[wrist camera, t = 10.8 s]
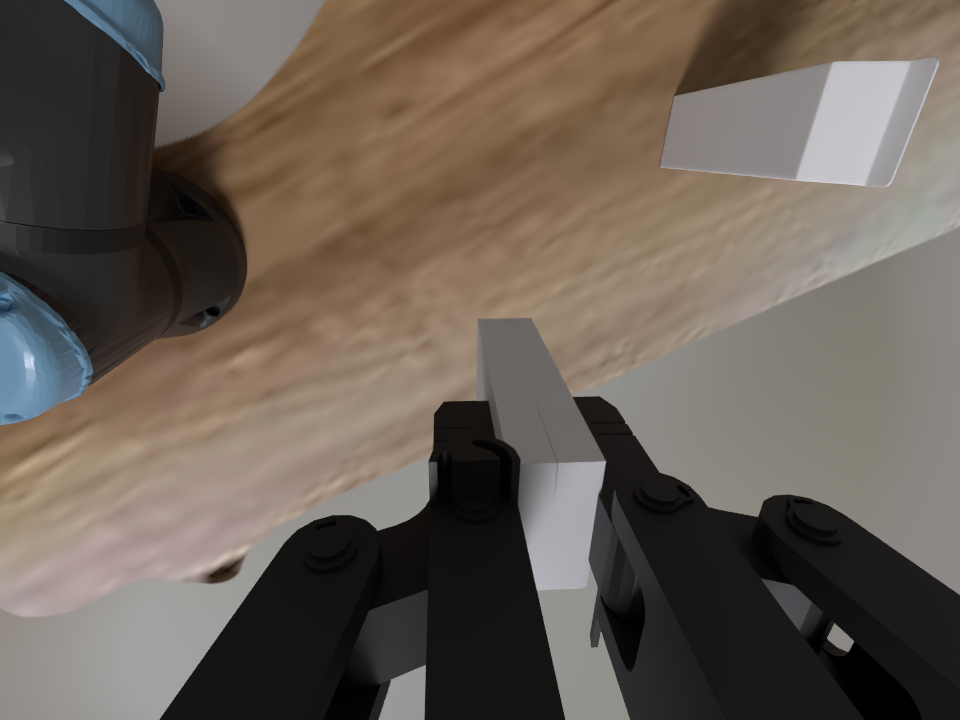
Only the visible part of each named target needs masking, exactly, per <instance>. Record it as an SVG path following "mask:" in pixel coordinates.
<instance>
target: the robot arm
mask: <svg viewBox="0 0 960 720" xmlns="http://www.w3.org/2000/svg"><path fill="white" fill-rule="evenodd" d="M162 48H163V22H162V17H161V14H160V11H159V10H158V8H157V6H156V4H155V2H154V0H0V425H5V424H11V423H17V422H21V421H24V420H27V419H31V418H33V417H36V416H38V415H40V414H42V413H44V412H45V411H47V410H49V409H51V408H52V407H54V406H56V405H58V404H59V403H61V402H64V401H67V400H69V399H73V398H75V397H77V396H79V395H80V394H82V393H83V392H84V391H85V390H86V388H87V387H88V386H90V385H91V384H92V383H94V382H95V381H97V380H98V379H99V378H101V377H102V376H104V375H105V374H107V373H108V372H109V371H111V370H112V369H114V368H115V367H117V366H118V365H119V364H121V363H122V362H124V361H125V360H126V359H128V358H129V357H131V356H132V355H134V354H135V353H136V352H138V351H139V350H141V349H142V348H143V347H145V346H146V345H148V344H149V343H151V342H152V341H154V340H155V339H161V338H169V337H177V336H184V335H189V334H193V333H196V332H198V331H201V330H203V329H205V328H207V327H209V326H211V325H212V324H214V323H215V322H217V321H218V320H219V319H221V318H222V317H223V316H224V315H226V314H227V313H228V312H229V311H230V310H231V309H232V308H233V306H234V305H235V304H236V302H237V301H238V299H239V297H240V295H241V293H242V290H243V288H244V284H245V279H246V258H245V252H244V248H243V245H242V242H241V239H240V236H239V234H238V232H237V230H236V228H235V226H234V224H233V223H232V221H231V220H230V218H229V217H228V215H227V214H226V213H225V211H224V210H223V209H222V208H221V207H220V206H219V205H218V204H217V202H216V201H214V200H213V199H212V198H211V197H210V196H209V195H208V194H207V193H205V192H204V191H203V190H201V189H200V188H199V187H197V186H196V185H194V184H192V183H191V182H189V181H187V180H185V179H183V178H181V177H179V176H176V175H174V174H171V173H168V172H165V171H161V170H157V169H152V162H153V152H154V142H155V131H156V121H157V110H158V101H159V92H163V91H164V89H165V82H164V78H163V76H162V74H161V69H162ZM429 489H430V500H429V502H428V503H427V505H426V507H425V508H424V509H423V510H422V511H421V512H420V513H419V514H417V515H416V516H414V517H413V518H411V519H410V520H408V521H406V522H403V523H401V524H398V525H396V526H393V527H389V528H386V529H382V530H379V531H377V530H376V528H374V527H373V526H372V525H371V524H370V523H369V522H368V521H366V520H364V519H361V518H358V517H355V516H351V515H336V516H335V515H332V516H329V517H325V518H322V519H318V520H314V521H313V522H311V523H309V524H307V525H305V526H304V527H302V528H300V529H298V530H297V531H296V532H295V533H294V534H293V535H292V536H291V537H290V538H289V539H288V540H287V541H286V542H285V543H284V544H283V546H282V547H281V549H280V550H279V552H278V553H277V554H276V556H275V557H274V559H273V560H272V561H271V563H270V564H269V566H268V567H267V568H266V570H265V571H264V573H263V574H262V576H261V577H260V578H259V580H258V581H257V583H256V584H255V585H254V587H253V588H252V590H251V591H250V592H249V594H248V595H247V597H246V598H245V600H244V601H243V603H242V604H241V605H240V607H239V608H238V609H237V611H236V612H235V614H234V615H233V616H232V618H231V619H230V621H229V622H228V624H227V625H226V626H225V628H224V629H223V631H222V632H221V633H220V635H219V636H218V638H217V639H216V640H215V642H214V643H213V645H212V646H211V647H210V649H209V650H208V652H207V653H206V655H205V656H204V657H203V659H202V660H201V662H200V663H199V664H198V666H197V667H196V669H195V670H194V672H193V673H192V675H191V676H190V677H189V679H188V680H187V681H186V683H185V684H184V686H183V687H182V688H181V690H180V691H179V693H178V694H177V695H176V697H175V698H174V700H173V701H172V703H171V704H170V705H169V707H168V708H167V710H166V711H165V712H164V714H163V715H162V717H161V718H160V720H378V719H379V716H380V713H381V710H382V707H383V704H384V700H385V698H386V694H387V692H388V688H389V685H390V682H391V679H393V678H395V677H398V676H400V675H403V674H405V673H407V672H410V671H412V670H414V669H416V668H419V667H421V666H424V665H426V687H425V689H426V691H425V720H565V716H564V712H563V707H562V703H561V698H560V694H559V690H558V685H557V680H556V676H555V671H554V666H553V662H552V657H551V653H550V648H549V643H548V639H547V634H546V630H545V625H544V621H543V616H542V612H541V607H540V603H539V598H538V593H537V590H555V589H574V588H586V587H587V580H588V574H589V568H590V566H591V569H592V572H593V575H594V577H595V580H596V583H597V586H598V591H597V596H596V602H595V608H594V615H593V620H592V626H591V632H590V639H591V647H598V642H599V637H600V632H602V634H603V638H604V641H605V644H606V647H607V650H608V653H609V656H610V659H611V662H612V665H613V668H614V671H615V674H616V678H617V681H618V684H619V686H620V690H621V693H622V696H623V699H624V702H625V705H626V708H627V711H628V714H629V717H630V720H960V595H959V594H957V593H956V592H954V591H953V590H952V589H950V588H948V587H947V586H946V585H944V584H943V583H942V582H940V581H939V580H937V579H936V578H934V577H933V576H931V575H930V574H929V573H927V572H926V571H924V570H923V569H922V568H920V567H919V566H917V565H916V564H914V563H913V562H911V561H910V560H909V559H907V558H906V557H904V556H903V555H901V554H900V553H898V552H897V551H896V550H894V549H893V548H891V547H890V546H889V545H887V544H885V543H884V542H883V541H881V540H880V539H879V538H877V537H876V536H874V535H873V534H871V533H870V532H868V531H867V530H866V529H864V528H863V527H861V526H860V525H858V524H857V523H856V522H854V521H853V520H851V519H850V518H848V517H847V516H845V515H844V514H842V513H840V512H838V511H837V510H835V509H833V508H831V507H830V506H828V505H825V504H823V503H820V502H817V501H814V500H812V499H809V498H805V497H800V496H794V495H776V496H772V497H770V498H768V499H767V500H765V501H764V502H763V505H762V508H761V511H760V514H759V516H758V517H754V516H749V515H744V514H738V513H733V512H727V511H722V510H717V509H714V508H709V507H707V505H706V504H705V502H704V501H703V500H702V498H701V497H700V496H699V495H698V494H697V493H696V492H695V491H694V490H693V489H692V488H691V487H690V486H689V485H687V484H685V483H683V482H681V481H680V480H678V479H676V478H674V477H672V476H668V475H665V474H662V473H659V471H658V470H657V468H656V467H655V465H654V464H653V462H652V461H651V459H650V458H649V456H648V455H647V453H646V452H645V450H644V449H643V447H642V446H641V444H640V443H639V441H638V440H637V438H636V437H635V436H633V433H632V431H631V429H630V428H629V426H628V425H627V424H625V420H624V419H623V417H622V416H621V414H620V413H619V411H618V410H617V408H616V407H614V406H613V405H611V404H610V403H608V402H607V401H605V400H604V399H602V398H601V397H599V396H598V397H572V395H571V394H570V392H569V390H568V388H567V386H566V384H565V382H564V380H563V378H562V376H561V374H560V373H559V371H558V369H557V367H556V365H555V363H554V361H553V359H552V357H551V355H550V353H549V352H548V350H547V348H546V346H545V344H544V342H543V340H542V338H541V336H540V334H539V332H538V331H537V329H536V327H535V325H534V323H533V321H532V319H531V318H515V319H478V336H477V401H451V402H443V403H442V405H441V406H440V407H439V409H438V410H437V411H436V412H435V414H434V443H433V451H432V454H431V457H430V459H429ZM834 623H835V624H836V625H837V626H838V627H840V628H841V629H842V630H843V631H844V632H845V633H846V634H848V636H849V637H850V638H852V639H853V640H854V643H853V645H852V647H851V649H850V651H849V652H846V651H844V650H841V649H839V648H837V647H836V646H835V645H833V644H832V643H831V642H830V641H829V640H828V639H827V637H828V635H829V633H830V631H831V629H832V627H833V625H834Z"/></svg>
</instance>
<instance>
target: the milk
mask: <svg viewBox="0 0 960 720" xmlns="http://www.w3.org/2000/svg"><path fill="white" fill-rule="evenodd" d="M938 66H939V59H938V58H937V57H929V58H924V59H918V60H912V61H835V62H830V63H825V64H820V65H816V66H811V67H806V68H802V69H797V70H792V71H788V72H783V73H779V74H774V75H769V76H765V77H760V78H755V79H751V80H746V81H742V82H737V83H732V84H728V85H723V86H718V87H714V88H709V89H705V90H700V91H695V92H691V93H686V94H681V95H677V96H674V99H673V104H672V109H671V114H670V119H669V124H668V129H667V134H666V138H665V143H664V148H663V153H662V158H661V163H660V167H661V168H671V169H682V170H692V171H703V172H713V173H724V174H734V175H745V176H755V177H766V178H776V179H787V180H797V181H810V182H823V183H837V184H850V185H863V186H874V187H886V186H888V185H890V184H891V183H892V181H893V179H894V177H895V174H896V172H897V169H898V167H899V164H900V162H901V159H902V157H903V154H904V152H905V149H906V146H907V144H908V141H909V139H910V136H911V134H912V131H913V129H914V126H915V124H916V121H917V119H918V116H919V114H920V111H921V109H922V106H923V104H924V101H925V99H926V96H927V94H928V91H929V89H930V86H931V83H932V81H933V78H934V76H935V73H936V71H937V68H938Z"/></svg>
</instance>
